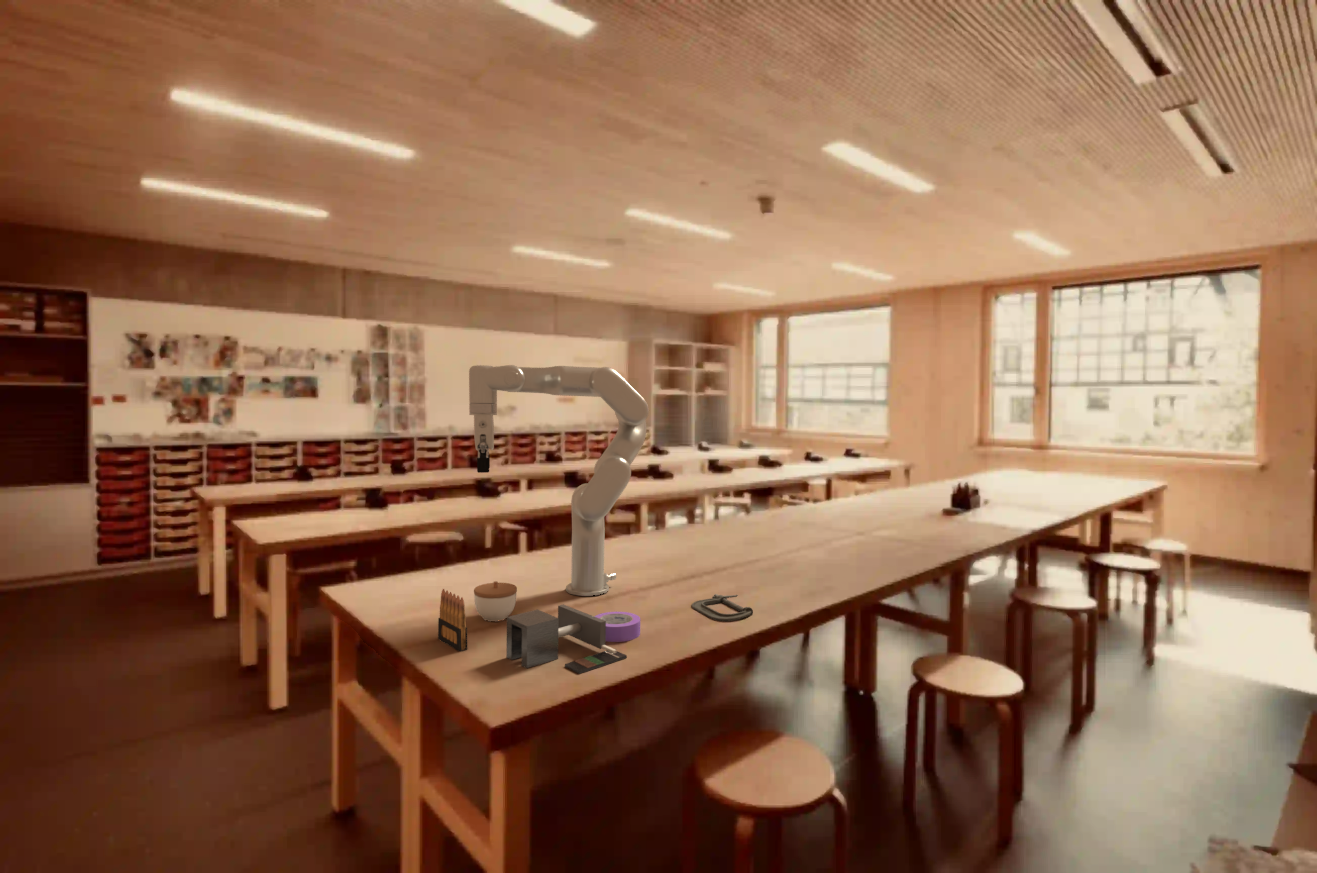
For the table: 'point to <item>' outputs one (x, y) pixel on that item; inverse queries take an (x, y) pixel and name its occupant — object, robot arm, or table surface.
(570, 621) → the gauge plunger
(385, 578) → the table surface
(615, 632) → the masking tape
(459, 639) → the ammunition clip
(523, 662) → the grey slide fixture
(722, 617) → the c clamp
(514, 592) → the lidded jar
